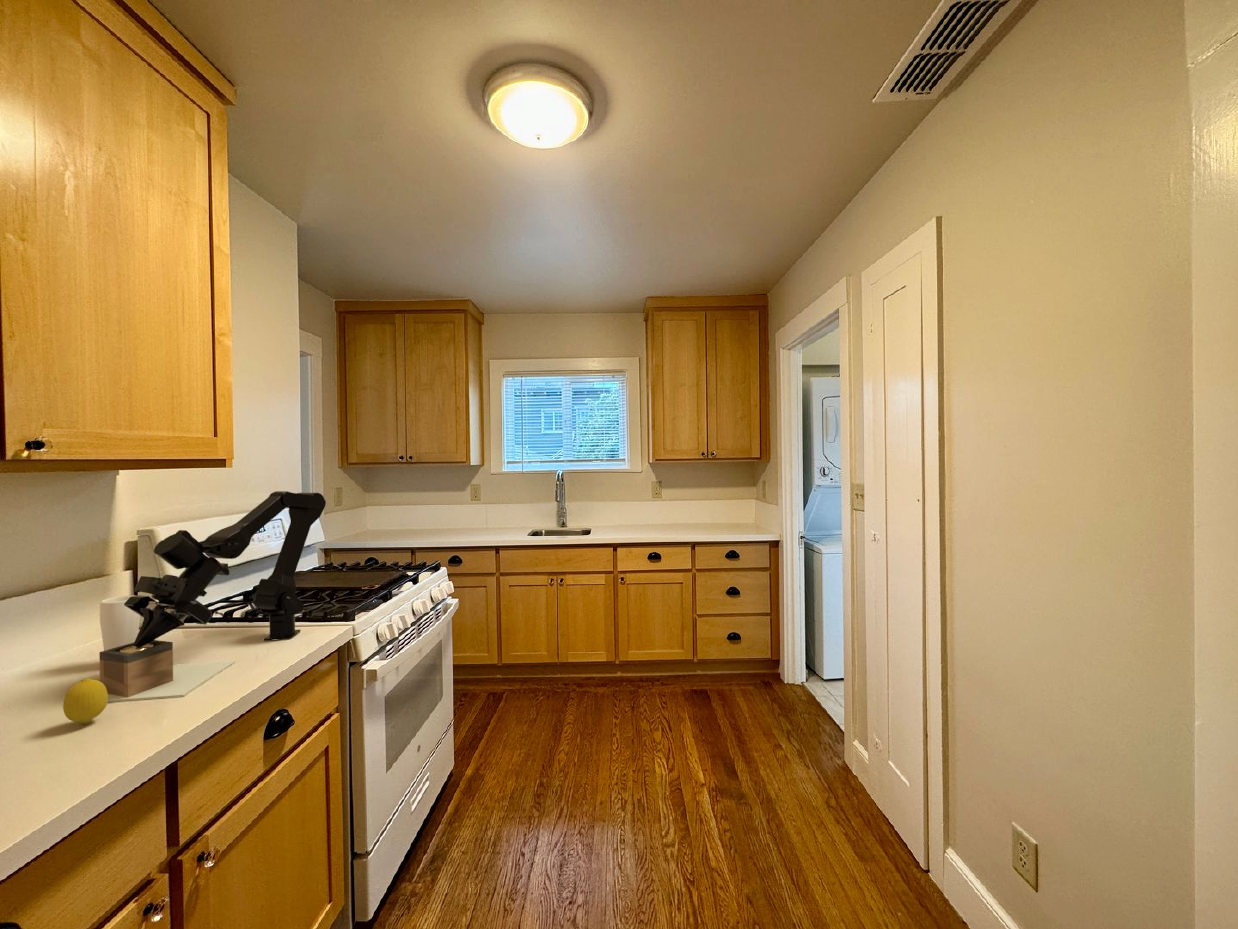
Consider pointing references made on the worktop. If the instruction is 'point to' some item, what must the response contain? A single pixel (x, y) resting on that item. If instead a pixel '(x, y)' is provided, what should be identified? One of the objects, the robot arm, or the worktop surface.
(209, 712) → the worktop surface
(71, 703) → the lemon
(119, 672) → the wooden box
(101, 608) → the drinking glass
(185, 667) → the mat
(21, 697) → the worktop surface
